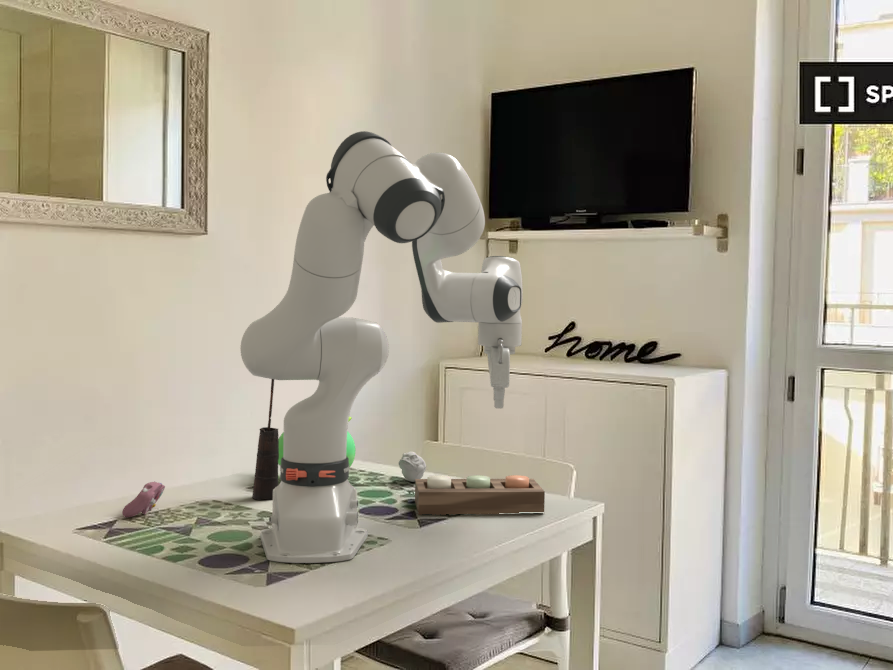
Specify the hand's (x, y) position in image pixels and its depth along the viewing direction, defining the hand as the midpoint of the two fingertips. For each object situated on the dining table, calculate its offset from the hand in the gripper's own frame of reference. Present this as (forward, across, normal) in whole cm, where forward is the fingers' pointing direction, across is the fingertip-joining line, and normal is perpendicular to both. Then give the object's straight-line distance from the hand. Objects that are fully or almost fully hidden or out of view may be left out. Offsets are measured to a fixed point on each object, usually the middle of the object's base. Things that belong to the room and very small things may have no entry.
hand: (498, 404), depth 183 cm
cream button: (+17, -3, +12) cm, 21 cm away
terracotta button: (+17, 0, -4) cm, 18 cm away
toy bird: (+22, +20, +41) cm, 50 cm away
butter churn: (+21, 0, +48) cm, 53 cm away
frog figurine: (+22, +21, +19) cm, 35 cm away
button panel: (+21, -2, +4) cm, 21 cm away
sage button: (+17, -2, +4) cm, 18 cm away
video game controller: (+21, -12, +68) cm, 73 cm away
